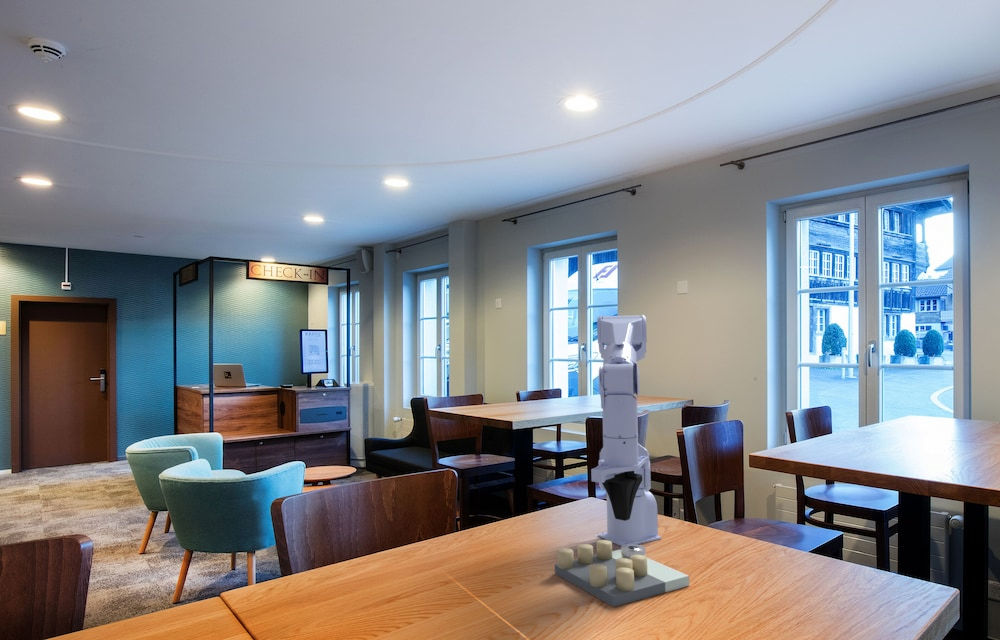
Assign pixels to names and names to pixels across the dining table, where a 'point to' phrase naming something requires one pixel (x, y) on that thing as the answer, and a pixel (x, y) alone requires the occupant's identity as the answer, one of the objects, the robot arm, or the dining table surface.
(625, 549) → the steel nut
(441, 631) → the dining table surface
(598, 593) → the board
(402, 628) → the dining table surface
